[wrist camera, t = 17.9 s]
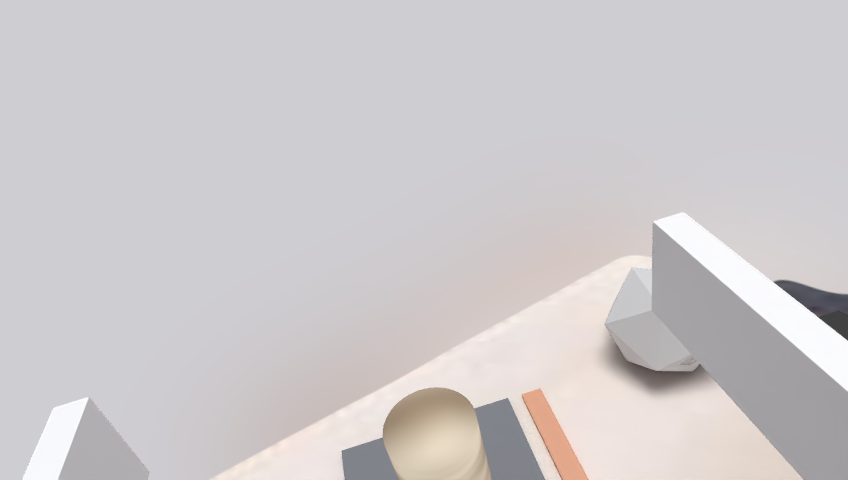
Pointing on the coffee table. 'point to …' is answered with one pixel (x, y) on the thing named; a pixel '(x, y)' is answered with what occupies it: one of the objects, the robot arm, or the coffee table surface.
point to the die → (645, 328)
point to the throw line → (553, 437)
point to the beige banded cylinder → (435, 437)
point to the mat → (502, 440)
